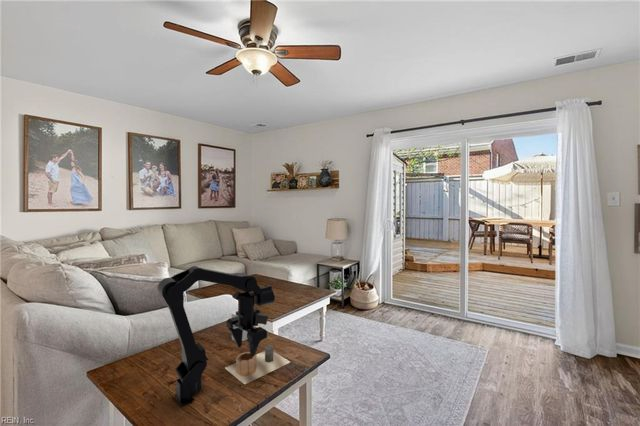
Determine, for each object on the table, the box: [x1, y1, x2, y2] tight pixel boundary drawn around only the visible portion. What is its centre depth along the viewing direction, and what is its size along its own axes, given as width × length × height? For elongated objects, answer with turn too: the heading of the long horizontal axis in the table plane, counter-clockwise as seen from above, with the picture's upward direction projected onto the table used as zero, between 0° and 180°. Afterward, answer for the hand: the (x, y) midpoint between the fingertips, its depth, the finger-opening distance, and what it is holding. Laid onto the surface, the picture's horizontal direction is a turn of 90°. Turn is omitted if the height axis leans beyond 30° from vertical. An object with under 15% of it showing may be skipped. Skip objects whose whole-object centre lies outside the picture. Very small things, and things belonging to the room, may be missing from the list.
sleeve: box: [235, 351, 257, 376], centre depth 108 cm, size 7×7×5 cm
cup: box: [231, 308, 248, 342], centre depth 137 cm, size 8×8×12 cm
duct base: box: [224, 344, 291, 385], centre depth 112 cm, size 20×14×6 cm
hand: (246, 351), depth 108 cm, fingers open, 9 cm apart
